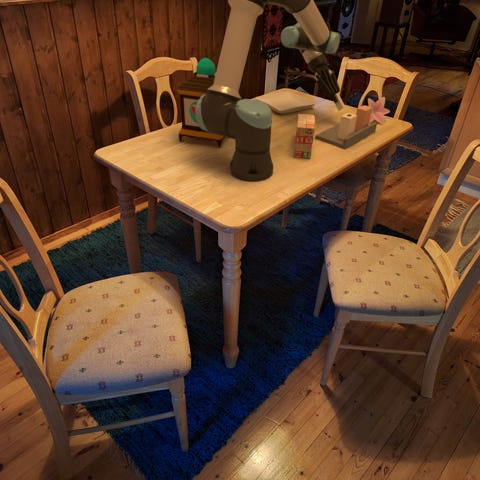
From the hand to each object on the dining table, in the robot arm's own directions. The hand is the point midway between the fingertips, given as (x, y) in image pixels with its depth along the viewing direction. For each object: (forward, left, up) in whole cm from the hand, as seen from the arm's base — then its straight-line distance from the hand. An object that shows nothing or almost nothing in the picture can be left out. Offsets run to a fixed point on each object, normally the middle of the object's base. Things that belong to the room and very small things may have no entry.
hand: (341, 108), depth 176 cm
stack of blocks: (-29, -1, -8) cm, 30 cm away
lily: (+16, -8, -8) cm, 19 cm away
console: (-7, -7, -8) cm, 12 cm away
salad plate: (+2, +32, -8) cm, 33 cm away
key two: (-1, -10, -6) cm, 12 cm away
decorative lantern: (-49, +31, -8) cm, 58 cm away
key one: (-13, -10, -6) cm, 18 cm away
